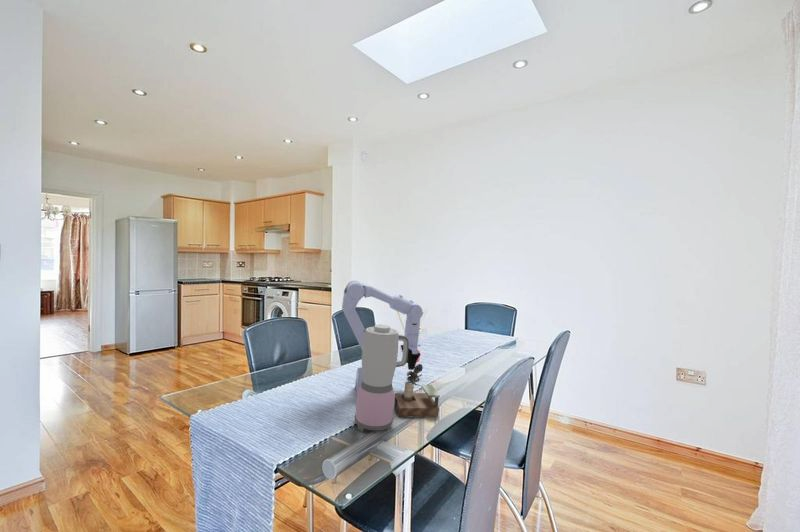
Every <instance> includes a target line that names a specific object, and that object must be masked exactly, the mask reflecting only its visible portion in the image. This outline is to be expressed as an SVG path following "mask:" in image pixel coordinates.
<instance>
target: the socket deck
mask: <svg viewBox="0 0 800 532" xmlns="http://www.w3.org/2000/svg"><path fill="white" fill-rule="evenodd" d="M420 387H421V388H422V390H423V391H424V392H417V393H416V392H413V399H412V401H404V392H401V393H400V392H397V393H396V392H395V398H397V407H394V409H395V410H396V412H397V415H398V417H399V418H404V417H405V416H406V417H405V418H408V417H407V416H418V417H439V414H440V413H439V412H440V407H439V401H440V399H439V398H440V394H439V392H438V391H437V390H436V388H435V387H434V386H433V385H432V384H421V386H420ZM433 398H434V399H433Z"/></svg>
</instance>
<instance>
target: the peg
mask: <svg viewBox="0 0 800 532" xmlns="http://www.w3.org/2000/svg"><path fill="white" fill-rule="evenodd" d="M414 387H415V385H414V384H413V383H411V382H405V383H404V392H403V393H404V401H412V399H413V393H414Z"/></svg>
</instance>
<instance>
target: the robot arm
mask: <svg viewBox="0 0 800 532" xmlns="http://www.w3.org/2000/svg"><path fill="white" fill-rule="evenodd" d="M363 297H364V298H365V299H366V298H371V297H372V298H375V299H377V300H379V301H382V302H385V303H387V304H389V305H388V306H389V308H390V309H392V310H394V311H396V312H399V313H401V314H403V315H406V319H405V326H404V327H405V328H404V335H403V336H405V337H407V338H408V341H409V348H408V357H407V363H406V364H407V369H408V370H409V371H414V368H415V367H416V366H417V365H416V364H417V361H418V359H419V358H420V357H421V353H420V352H419V347H421V346H422V345H421V343H419V335H420V326H421V318H422V317H423V315H424V311H423V309H422V307H421V306H420V305H418V304H417V303H415V302H414V301H413V300H409V299H407V298H404V296H403V295H402V294H399V295H398V294H394V295H390V294H388V293H386V292H384V291H382V290H380V289H378V288H376V287H374V286H372V285H369V284H366V283H363V282H359V281H358V280H351V281H350V282H347V284H346V287H345V288H344V289H343V298H342V304H341V309H342V312H343V314H344V316H345V318H346V320H347V322H348V325H349V326H350V328H351V330H352V332H353V334H354V337H355V338H356V341H357V343H358V344H359V348H360V349H361V350H362V349H363V340H364V332H362V331H363V330H365V329H366V328H365V327H364V324H363V323H362V321H361V319H360V317H359V314H358V312H357V311H356V308H357V306H358V303H359V302H360V301H361V299H362V298H363ZM403 346H404V342H403V343H402V344H401V345H400V349H401V351H402V353H403ZM355 375H356V376H355V383H354V386H355V390H356V394H357V393H358V390H359V388H360V386H361V384H362V381H363V374H362V366H361V367H357V369H356V374H355Z"/></svg>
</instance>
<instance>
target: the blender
mask: <svg viewBox="0 0 800 532" xmlns="http://www.w3.org/2000/svg"><path fill="white" fill-rule="evenodd" d="M364 329H365V330H363V331H362V332H364V340H363V349H361V367H362V374H363V381H362V384H361V386H360V388H359V390H358V393H357V392H356V405H355V406H356V407H355V414H354V421H355V424H356V425H357V429H358V430H359V431H361V432H363V431H364V430H369V431H370V430H371V431H380V430H386V431H387V430H388V431H390V430H391V428H392V425H393V420H394V409H395V407H397V398H395V393H396V392H395V390H394V387H393V380H394V379H393V378H394V376H395V371H396V369H397V368H400V367H404V366H405V365H406V364H408V363H407V357H408V348H409V341H408V338H407V337H405V336H404V335H402V334H401V335H400V334H399V333H400V332H399V331H398V330H397V329H395V328H392V327H391V326H389V325H387V324H374V326H369V327H366V328H364ZM399 341H400V342H403V343H404V346H403V352H402V356H401V360H399V361H398V353H399ZM389 429H390V430H389Z"/></svg>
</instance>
